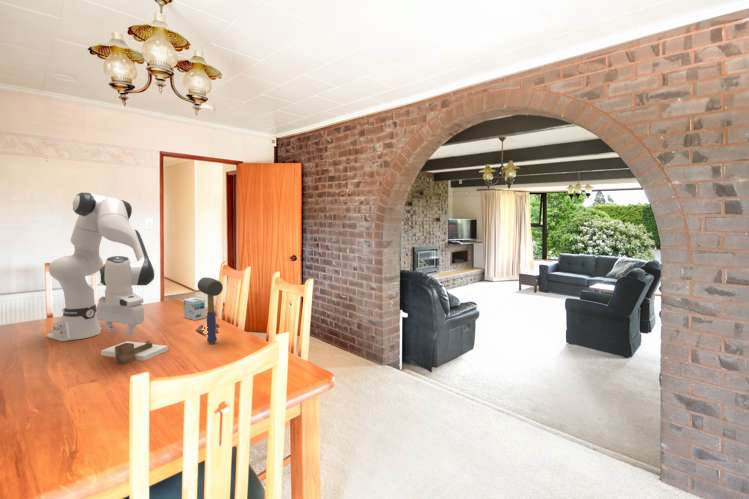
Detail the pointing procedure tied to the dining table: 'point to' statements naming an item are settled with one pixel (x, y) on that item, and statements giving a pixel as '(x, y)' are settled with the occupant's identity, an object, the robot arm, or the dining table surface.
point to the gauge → (129, 352)
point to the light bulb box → (194, 308)
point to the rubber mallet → (210, 304)
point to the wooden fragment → (207, 329)
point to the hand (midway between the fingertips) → (120, 333)
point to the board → (139, 356)
